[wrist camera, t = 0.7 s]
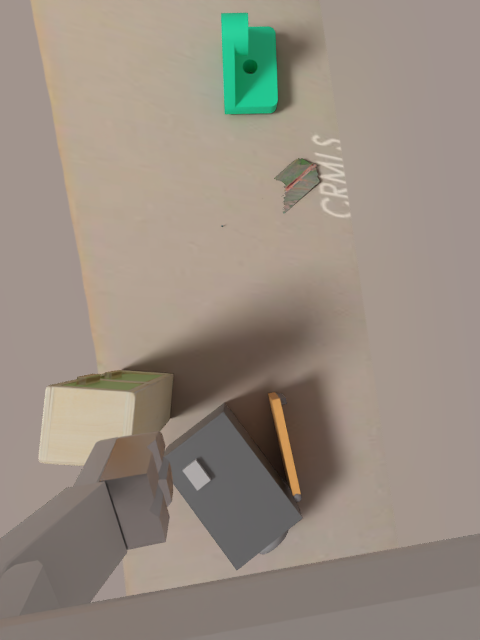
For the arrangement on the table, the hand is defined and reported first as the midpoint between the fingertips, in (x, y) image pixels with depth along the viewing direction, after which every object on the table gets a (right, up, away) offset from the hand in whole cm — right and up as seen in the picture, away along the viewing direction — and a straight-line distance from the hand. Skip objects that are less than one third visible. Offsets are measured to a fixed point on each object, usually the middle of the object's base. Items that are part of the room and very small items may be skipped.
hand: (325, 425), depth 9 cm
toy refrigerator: (-16, -8, +43) cm, 47 cm away
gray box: (-3, -18, +43) cm, 47 cm away
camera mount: (-1, +39, +47) cm, 61 cm away
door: (+4, -14, +43) cm, 45 cm away
